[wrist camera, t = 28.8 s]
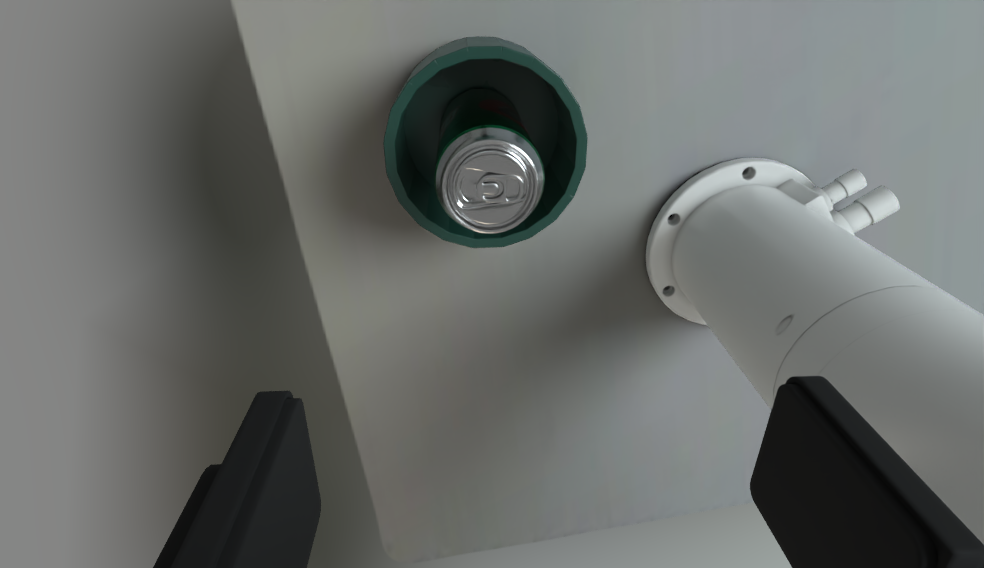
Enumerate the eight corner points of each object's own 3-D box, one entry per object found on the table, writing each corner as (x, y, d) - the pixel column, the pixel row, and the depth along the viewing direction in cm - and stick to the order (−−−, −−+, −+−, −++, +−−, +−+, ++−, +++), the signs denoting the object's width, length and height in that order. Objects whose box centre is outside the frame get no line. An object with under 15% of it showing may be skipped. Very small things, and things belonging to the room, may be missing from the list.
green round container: (458, -4, 33) (458, -3, 27) (600, 107, 36) (628, 129, 30) (364, 150, 36) (346, 180, 31) (500, 237, 40) (508, 280, 34)
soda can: (439, 86, 34) (431, 130, 24) (522, 87, 35) (551, 130, 24) (441, 168, 37) (435, 242, 26) (519, 168, 37) (544, 241, 26)
